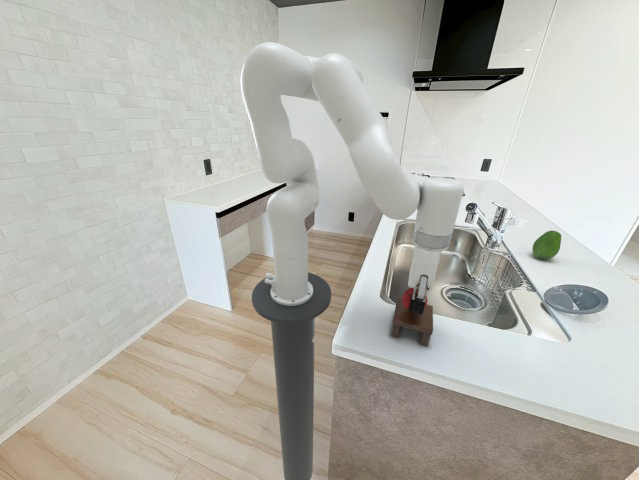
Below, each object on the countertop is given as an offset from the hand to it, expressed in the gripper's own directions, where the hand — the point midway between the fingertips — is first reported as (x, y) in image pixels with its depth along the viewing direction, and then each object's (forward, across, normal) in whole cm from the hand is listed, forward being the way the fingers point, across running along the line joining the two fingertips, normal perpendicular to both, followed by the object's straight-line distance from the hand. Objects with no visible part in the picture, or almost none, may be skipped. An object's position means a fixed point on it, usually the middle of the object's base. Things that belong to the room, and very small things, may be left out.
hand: (416, 302), depth 63 cm
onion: (+3, 0, 0) cm, 3 cm away
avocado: (+9, -59, +46) cm, 75 cm away
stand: (+9, 0, 0) cm, 9 cm away
